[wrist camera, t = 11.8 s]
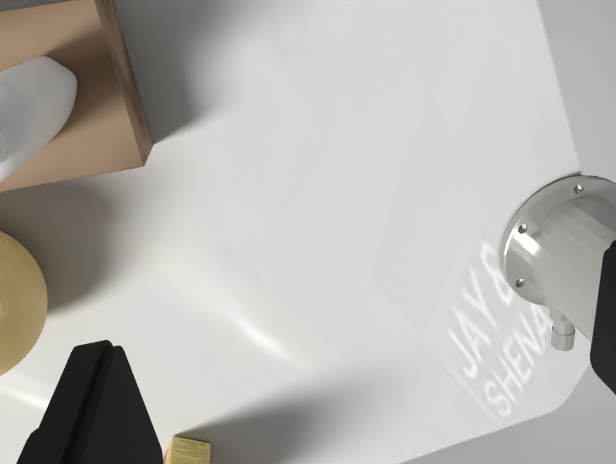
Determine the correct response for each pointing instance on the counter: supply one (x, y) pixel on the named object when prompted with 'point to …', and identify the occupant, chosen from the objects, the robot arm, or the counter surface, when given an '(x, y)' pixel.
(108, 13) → the walnut base
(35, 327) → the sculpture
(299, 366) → the counter surface
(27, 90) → the eye dropper bottle
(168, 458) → the candy box
